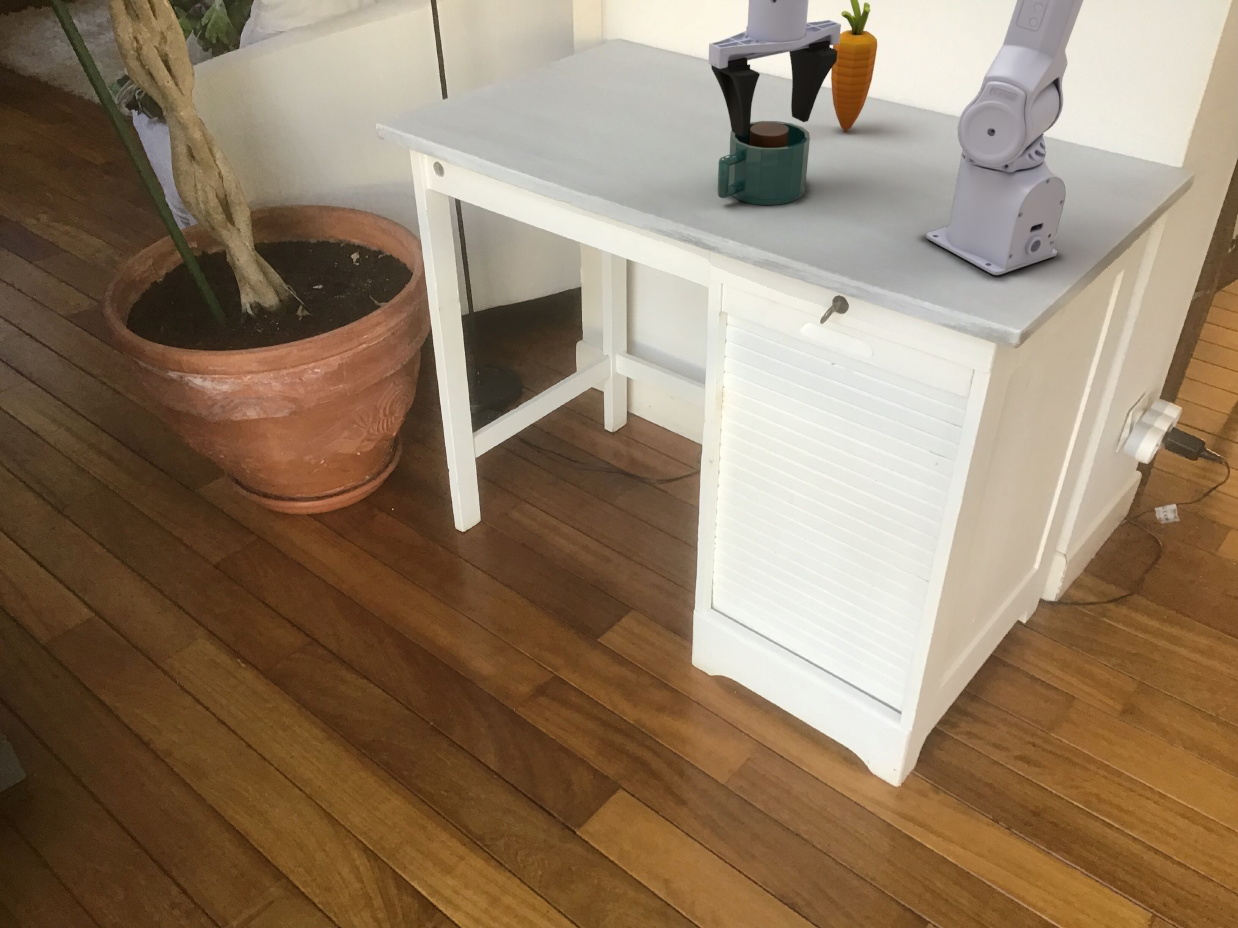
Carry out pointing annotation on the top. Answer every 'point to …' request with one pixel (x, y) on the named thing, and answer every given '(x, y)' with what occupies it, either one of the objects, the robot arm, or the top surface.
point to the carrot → (853, 67)
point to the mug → (765, 169)
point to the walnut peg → (769, 135)
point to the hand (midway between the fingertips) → (770, 126)
